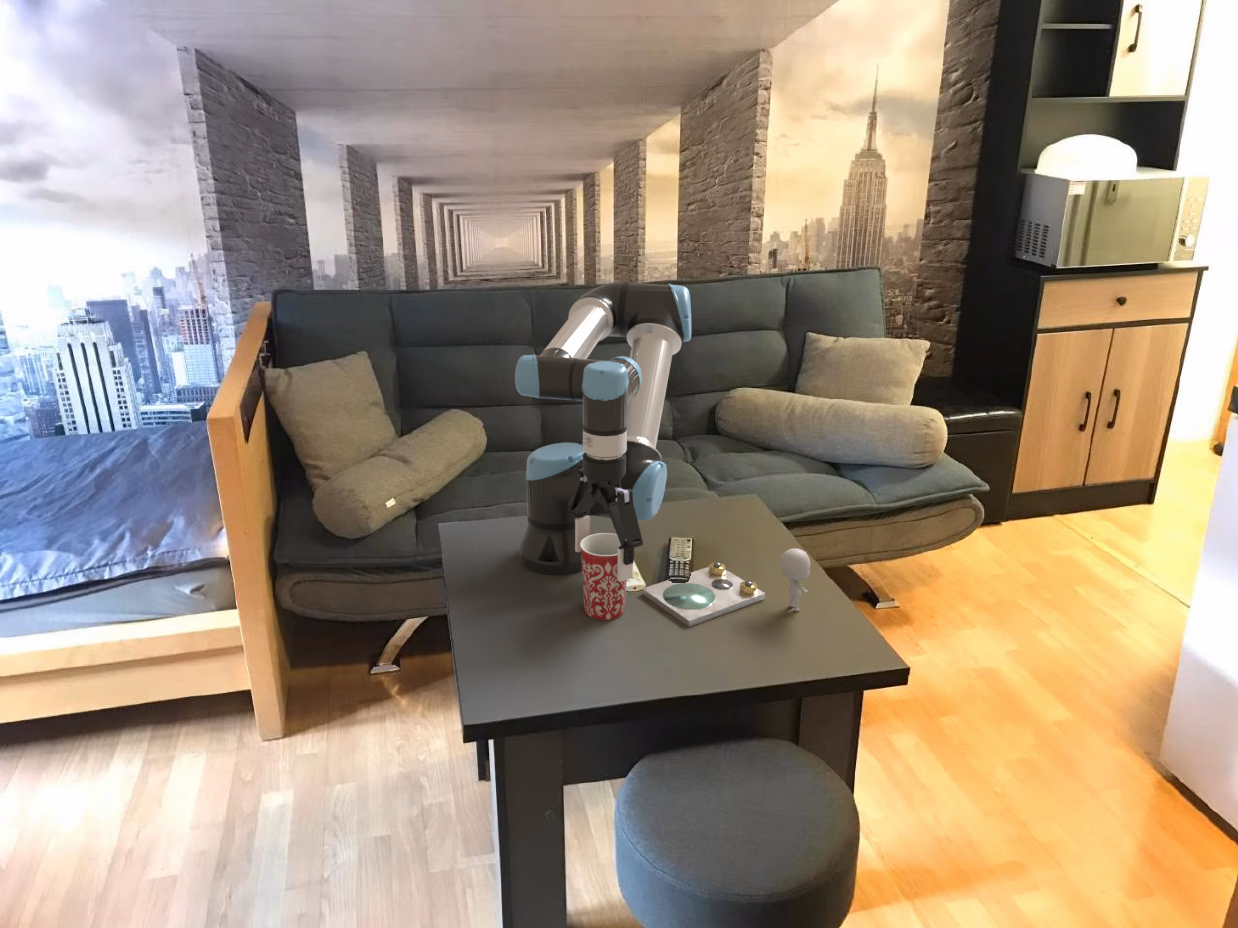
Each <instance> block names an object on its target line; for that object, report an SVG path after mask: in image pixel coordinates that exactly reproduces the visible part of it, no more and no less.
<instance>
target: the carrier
mask: <svg viewBox="0 0 1238 928" xmlns="http://www.w3.org/2000/svg"><path fill="white" fill-rule="evenodd" d="M726 567H727V566H726V564H724V563H722V562H720V561H714V562H711V563H709V565H708V567H707V566H706V567H703V568H701V569H698V570H695V571H692V572H690V573H691V576H690V579H689V581H688V582H686V583H672V582H671V581H669V580H670V579H667V580H665V581H660V582H657V583H655V584H652V585H648V586H646V587H643V588H642V591H641V592H642V593H641V594H642V595H643V596H645V598H647V599H648V600H649V601H651V602H653V603H654V604H655V605H657V606H659V607H660V608H661V609H662V610H664V611H666V612H667V613H668V614H669V615H671V616H672V617H674V618H675V619H678V621H680V623H681V622H682V623H683V624H684V625H686V627H688V628H690V627H693V626H695V625H697V624H701V623H703V622H706V621H710V620H712V619H715V618H717V617H720V616H723V615H724V614H728V613H731V612H733V611H736V610H738V609H741V608H744V607H747V606H750V605H753V604H756V603H758V602H760V601H764V600H765V599H766V592H763V591H762V590H761V589H759V588H758V584H757V583H756V582H754V581H752V580H744V579H743V578H740V577H739V576H737V575H736V574H734V573H732V572H730V571H729V570H727V569H726Z"/></svg>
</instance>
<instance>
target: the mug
mask: <svg viewBox="0 0 1238 928" xmlns="http://www.w3.org/2000/svg"><path fill="white" fill-rule="evenodd" d="M625 540H626V539H625ZM620 545H621V544H620V541H619V538H618V536H617V533H613V532H610V533H609V532H599V533H594V534H591V535H589V536H587V537H585V538H584V539H582V540H581V542H580V548H581V556H582V570H581V571H582V572H581V573H582V589H583V590H582V592H583V609H584V613H585V614H586V615H587V616H588V617H589V618H591V619H595V620H600V621H609V620H610V621H611V620H612V621H613V620H615V619H618V618H620V617H621V616H622V615H623V614H624V612H625V605H626V591H627V583H628V579H627V580H624V581H621V582H619V581H618V580H617V567H618V546H620Z"/></svg>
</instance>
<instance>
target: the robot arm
mask: <svg viewBox="0 0 1238 928" xmlns="http://www.w3.org/2000/svg"><path fill="white" fill-rule="evenodd" d="M567 316H568V319H567V320H566V321H565V323H564V324H563V325H562V326H561V328H560V329H559V330H558V331H557V333H556V334H555V335H554V337H553V338H552V339H551V341H550V342H549V343H548V345H546V347H545V348H544V349H543V351H542V352H541V353H540V355H538V354H537V355H536V354H523V355H522V356H520V357H519V359H518V360H517V363H516V365H515V373H514V381H515V382H514V383H515V384H514V385H515V387H516V388H515V389H516V391H517V392H518V393H519V395H521V396H523V397H529V398H530V397H531V398H535V399H548V400H549V399H550V400H565V401H577V402H582V444H580V443H577V442H559V443H557V442H556V443H553V444H548V445H547V444H546V445H545V446H541V447H539V448H537V449H535V450H534V451H532V452H531V453H530V454H529V455H528V457H527V460H526V472H525V473H526V474H525V479H526V480H525V482H526V486H525V487H526V511H527V512H526V513H527V523H526V527H525V529H524V532H523V535H522V538H521V542H520V544H519V549H518V552H519V557H518V559H519V562H520V563H521V564H522V566H523V567H525V568H527V569H528V570H530V571H532V572H535V573H538V574H545V575H567V574H573V573H577V572H580V571H582V556H581V548H580V542H581V540H582V539H584V538H585V537H587V536H589V535H592V534H591V517H598V518H606V519H607V518H608V519H610V520H611V523H612V525H613V527H614V530H615V534H617V536H618V538H619V541H620V544H621V545H620V546H618V567H617V580H618V581H619V582H621V581H624V580H627V581H628V580H629V579H633V575H634V574H633V572H634V571H633V568H634V567H633V566H634V562H635V548H638V547H641V546H644V541H643V537H642V532H641V528H640V526H639V525H640V524H639V522H640V521H642V522H645V521H646V522H647V521H650V520H652V519H653V518H654V517H655V516H656V515H657V513H658V512H659V510H660V507H661V505H662V502H663V498H664V495H665V491H666V484H667V479H668V469H667V464H666V463H665V462H663V461H662V455H661V453H660V451H658V449H656V448H657V444H658V443H657V442H658V438H659V437H658V436H659V430H660V426H661V425H660V424H661V422H662V421H661V420H662V415H663V409H664V402H665V399H666V391H667V387H668V380H669V376H670V370H671V364H672V359H673V355H676V354H677V353H678V352H679V351H680V350H681V348H682V344H683V343H686V342H690V341H691V339H692V306H691V294H690V291H689V289H688V288H687V287H686V286H684V285H677V284H676V285H675V284H672V283H667V284H660V283H659V284H657V283H645V282H644V283H642V282H627V281H616V282H615V281H614V282H608V283H604V284H603V285H599V286H598V287H596V288H593V289H591V290H589V291H587V292H585V293H584V294H582V295H581V296H580V297H579V298H578V299H577V300H576V301H575V302H573V305H572V306H571V307H570V309H569V312H568V315H567ZM607 337H616V338H617V337H621V338H626V341H627V343H628V345H629V346H630V347H631V350H630V353H629V355H630V356H625V355H622V356H621V355H620V356H615V357H613V358H610V359H609V360H602V359H588V357H589V356H590V355H591V353H592V351H593V350H594V348H595V347H596V345H597V344H598V343H599V342H600V341H602V340H604V339H605V338H607ZM625 539H626V540H625Z"/></svg>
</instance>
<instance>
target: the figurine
mask: <svg viewBox="0 0 1238 928" xmlns="http://www.w3.org/2000/svg"><path fill="white" fill-rule="evenodd" d="M779 567H780V570H781V571H782V573H783V575H784V576H785V578H786V579H787V580H789V581H788V582H789V589H788V593H789V594H788V595H789V604H788V605H789V607H790V608H793V610H794V612H799V611H800V608H799V604H800V600H801V599H800V598H801V595H802V592H803V593H805V594H807V593H808V590H807V589H805V588H804V587H803V586H802V585H801V582H800V581H801V580H804V579H806V578H809V577H810V575H811V574H810V573H811V572H810V569H811V559H810V558H809V555H808V554H807V552H806V551H804V550H803V549H800V548H793V547H792V548H790V549H788V550H786V551H785V552H784V553H783V554H782V555H781V557H780V561H779Z"/></svg>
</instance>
